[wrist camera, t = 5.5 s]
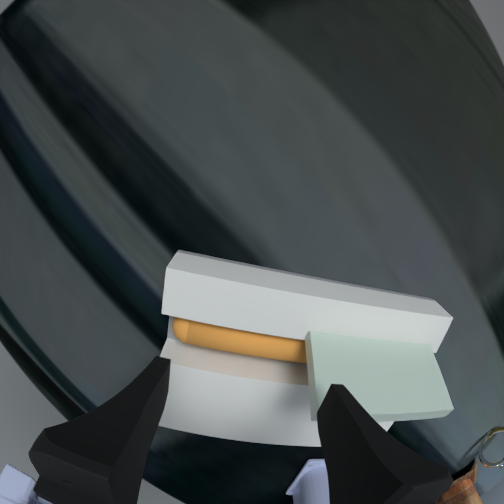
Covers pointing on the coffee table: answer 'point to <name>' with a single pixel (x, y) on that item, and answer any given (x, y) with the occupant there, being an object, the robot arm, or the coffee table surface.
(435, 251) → the coffee table surface
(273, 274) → the board
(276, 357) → the orange rounded rod
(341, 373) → the cover
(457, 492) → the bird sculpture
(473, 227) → the coffee table surface
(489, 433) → the ring
